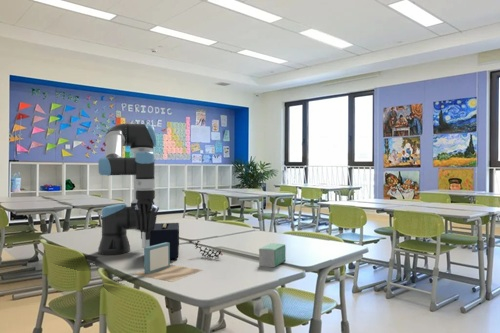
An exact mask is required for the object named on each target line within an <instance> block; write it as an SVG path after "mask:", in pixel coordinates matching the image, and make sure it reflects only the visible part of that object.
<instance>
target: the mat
mask: <svg viewBox="0 0 500 333" xmlns="http://www.w3.org/2000/svg"><path fill="white" fill-rule="evenodd" d="M202 271H204V270H203V269H199V268H193V267H187V266H182V265H181V266H180V265H175V264H174V265H173V264H170V267H169V268H166V269H163V270H159V271H156V272H153V273H150V274H145V273H144V270H142V271H140V272H136V273H133V275H134V276H140V277H145V278H150V279H155V280H161V281H166V282H171V283H174V282H176V281H179V280H181V279H183V278H186V277H188V276H191V275H192V276H193V275H195V274H197V273H201V272H202Z"/></svg>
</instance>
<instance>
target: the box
mask: <svg viewBox="0 0 500 333" xmlns="http://www.w3.org/2000/svg"><path fill="white" fill-rule="evenodd" d="M286 250H287V249H286V244H284V243H269V244H267V245H264V246H263V247H259V249H258V254H259V255H258V261H259V262H258V266H260V267H266V268H276V267H277V266H278V265H280V264H282V263H284V262H285V261H286ZM284 260H285V261H284ZM283 261H284V262H283Z"/></svg>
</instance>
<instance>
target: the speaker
mask: <svg viewBox="0 0 500 333" xmlns="http://www.w3.org/2000/svg"><path fill="white" fill-rule="evenodd" d="M165 242H167V243H170V260H172V261H173V260H176V259H178V258H179V252H180V222H162V223H161V222H160V223H158V222H156V223H155V228H154V230H152V231H151V232H150V246H153V245H157V244H161V243H165Z"/></svg>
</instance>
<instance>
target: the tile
mask: <svg viewBox="0 0 500 333" xmlns="http://www.w3.org/2000/svg"><path fill="white" fill-rule="evenodd" d="M143 249H144V250H143V251H144V254H143V256H144V257H143V258H144V262H143V264H144V266H143V267H144V269H143V271H144V273H145V274H150V273H153V272H156V271H159V270H163V269H166V268H169V267H170V265H171V264H170V263H171V261H170V260H171V259H170V243H167V242H165V243H161V244H157V245H153V246H149V247H145V248H143Z"/></svg>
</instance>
